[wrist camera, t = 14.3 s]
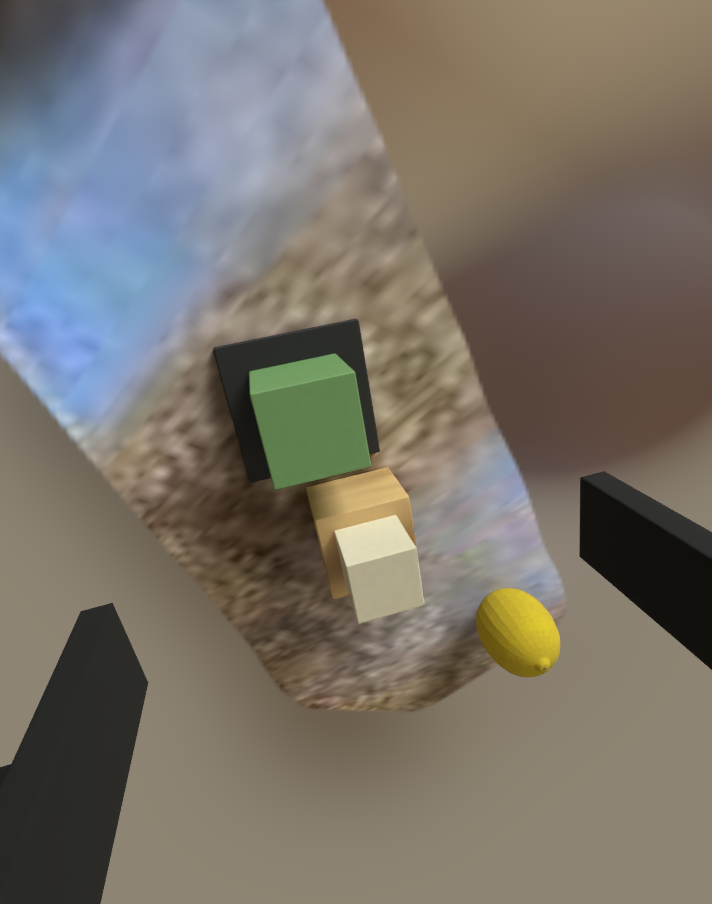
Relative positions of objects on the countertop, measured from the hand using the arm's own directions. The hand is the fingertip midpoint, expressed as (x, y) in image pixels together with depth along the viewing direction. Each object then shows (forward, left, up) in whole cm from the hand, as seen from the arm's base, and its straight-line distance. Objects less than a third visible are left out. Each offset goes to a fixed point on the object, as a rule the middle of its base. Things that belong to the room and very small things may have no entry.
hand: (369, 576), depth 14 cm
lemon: (+20, +12, -20) cm, 31 cm away
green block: (0, 0, -20) cm, 20 cm away
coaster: (0, 0, -20) cm, 20 cm away
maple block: (+9, +2, -20) cm, 22 cm away
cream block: (+9, +2, -15) cm, 18 cm away
